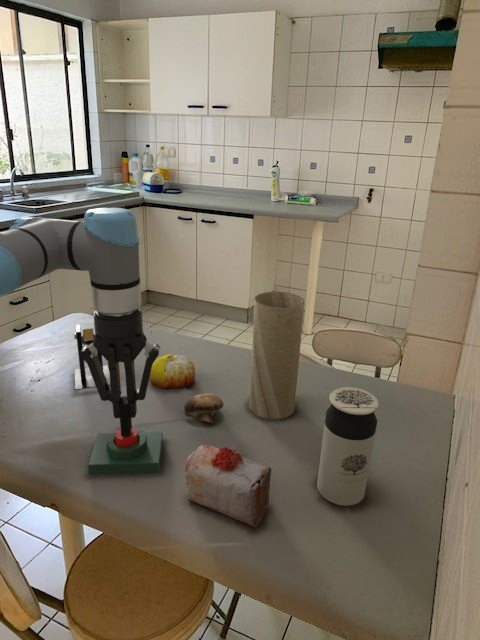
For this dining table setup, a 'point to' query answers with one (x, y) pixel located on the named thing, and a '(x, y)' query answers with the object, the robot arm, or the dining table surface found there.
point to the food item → (228, 483)
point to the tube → (275, 353)
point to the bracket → (83, 374)
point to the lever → (88, 336)
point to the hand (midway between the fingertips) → (126, 431)
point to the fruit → (172, 372)
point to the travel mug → (347, 445)
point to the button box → (126, 454)
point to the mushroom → (203, 406)
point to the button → (126, 438)
